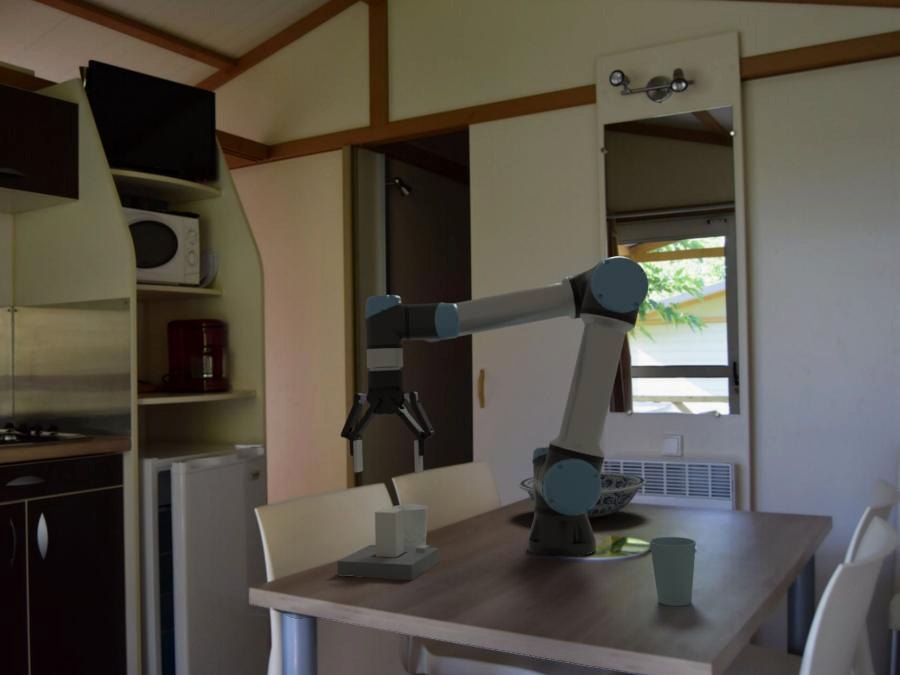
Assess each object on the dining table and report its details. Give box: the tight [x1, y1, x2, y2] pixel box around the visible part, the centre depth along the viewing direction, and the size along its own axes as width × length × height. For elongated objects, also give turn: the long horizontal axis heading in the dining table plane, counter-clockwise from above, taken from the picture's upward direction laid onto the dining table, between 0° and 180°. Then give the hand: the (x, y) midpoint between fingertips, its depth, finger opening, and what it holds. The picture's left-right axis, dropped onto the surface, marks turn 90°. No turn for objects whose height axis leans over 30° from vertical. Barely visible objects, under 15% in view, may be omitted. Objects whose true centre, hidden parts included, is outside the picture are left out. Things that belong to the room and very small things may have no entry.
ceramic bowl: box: [518, 471, 647, 518], centre depth 234 cm, size 34×34×10 cm
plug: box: [374, 508, 404, 558], centre depth 178 cm, size 4×4×12 cm
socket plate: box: [336, 544, 440, 581], centre depth 178 cm, size 16×16×4 cm
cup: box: [649, 536, 697, 607], centre depth 148 cm, size 8×8×10 cm
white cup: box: [391, 503, 428, 547], centre depth 194 cm, size 8×8×10 cm
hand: (388, 471), depth 178 cm, fingers open, 13 cm apart
